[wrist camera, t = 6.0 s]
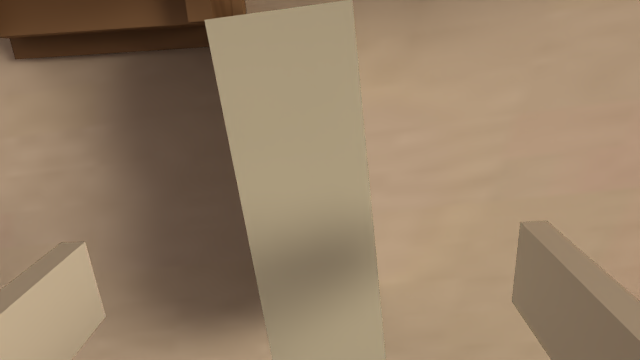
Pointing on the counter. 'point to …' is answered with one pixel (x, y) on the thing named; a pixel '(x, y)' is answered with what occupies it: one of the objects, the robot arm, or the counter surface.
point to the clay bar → (303, 176)
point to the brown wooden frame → (108, 25)
